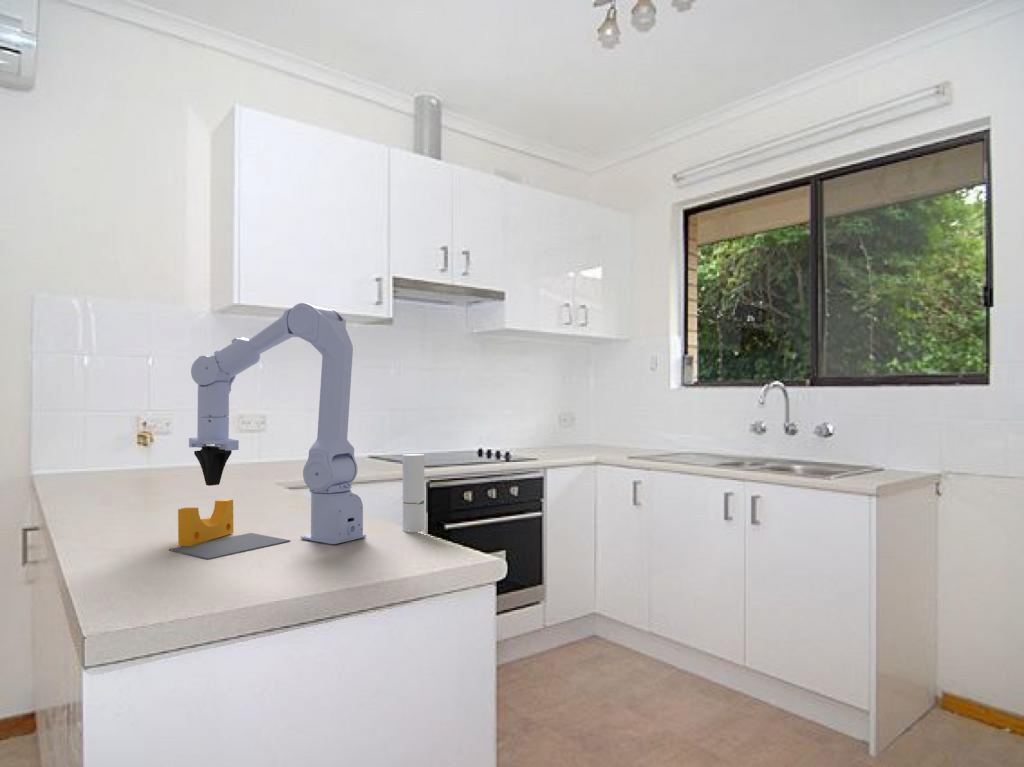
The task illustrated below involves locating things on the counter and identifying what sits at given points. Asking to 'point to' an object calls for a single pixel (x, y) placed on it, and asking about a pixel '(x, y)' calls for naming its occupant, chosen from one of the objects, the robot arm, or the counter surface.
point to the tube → (413, 492)
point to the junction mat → (229, 545)
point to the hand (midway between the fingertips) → (212, 485)
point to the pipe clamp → (204, 524)
